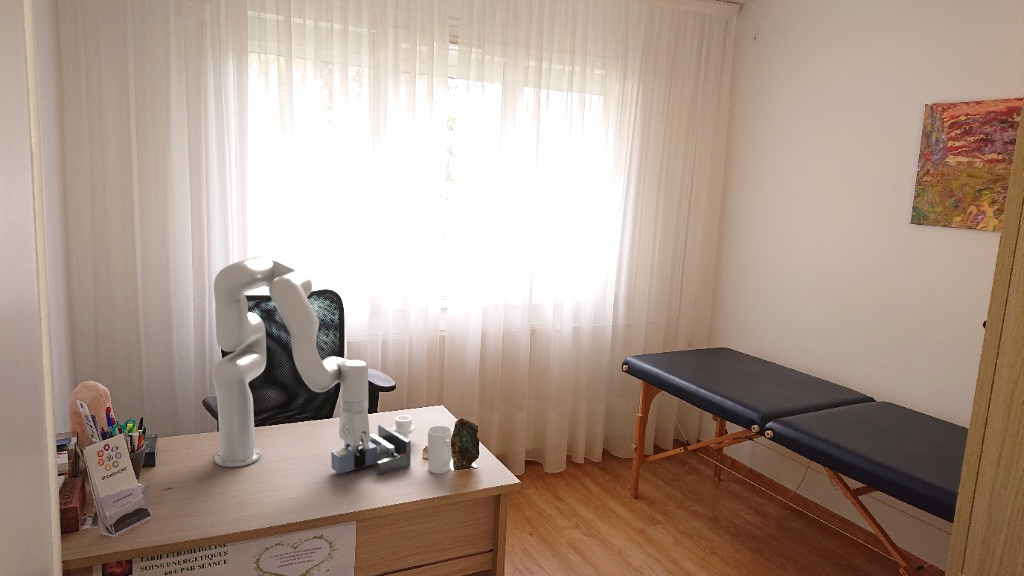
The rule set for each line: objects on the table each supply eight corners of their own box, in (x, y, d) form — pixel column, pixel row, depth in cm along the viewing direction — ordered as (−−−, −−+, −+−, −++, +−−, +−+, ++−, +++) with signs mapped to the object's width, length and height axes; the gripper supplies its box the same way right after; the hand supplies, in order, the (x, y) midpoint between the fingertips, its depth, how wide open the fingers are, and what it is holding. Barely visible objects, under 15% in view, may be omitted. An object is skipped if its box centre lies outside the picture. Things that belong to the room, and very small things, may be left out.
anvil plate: (394, 470, 188) (394, 451, 187) (369, 453, 199) (369, 434, 198) (399, 469, 189) (399, 449, 188) (374, 451, 200) (373, 433, 199)
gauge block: (331, 467, 187) (331, 450, 186) (375, 454, 196) (375, 438, 195) (339, 474, 183) (339, 456, 182) (383, 460, 193) (383, 444, 192)
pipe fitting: (402, 435, 214) (402, 412, 212) (418, 441, 210) (418, 417, 208) (388, 441, 209) (388, 418, 207) (404, 448, 204) (404, 423, 203)
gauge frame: (379, 476, 186) (378, 450, 184) (351, 456, 197) (351, 431, 196) (410, 466, 192) (410, 440, 191) (382, 447, 204) (382, 423, 203)
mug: (423, 466, 192) (423, 428, 190) (443, 461, 196) (444, 423, 194) (439, 480, 184) (440, 440, 182) (460, 475, 188) (461, 435, 186)
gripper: (328, 398, 190) (330, 456, 193) (357, 416, 177) (357, 478, 181) (352, 392, 195) (353, 450, 198) (381, 410, 182) (381, 471, 185)
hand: (355, 463), depth 189 cm, fingers closed on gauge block, 4 cm apart
